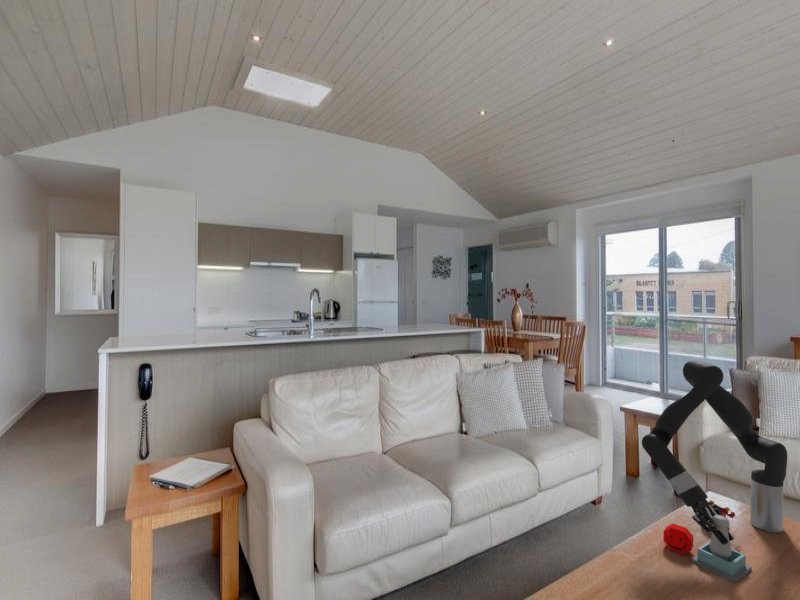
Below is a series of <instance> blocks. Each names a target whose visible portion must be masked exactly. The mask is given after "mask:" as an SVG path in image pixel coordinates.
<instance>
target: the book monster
mask: <svg viewBox="0 0 800 600" xmlns="http://www.w3.org/2000/svg"><path fill="white" fill-rule="evenodd" d="M708 502H709V503H710V504H711V505H715V504H716V503H715V501H714V500H712V499H710V500H709V501H708ZM716 505H717V504H716ZM717 506H718V507H719V509H720V511H721V513H722V515H723V516H724V517H726V518H727V517H729V518H731V519H734V518H735V516H736V514H735V512H734V511H731V508H730V507H729V506H726V507H721V506H719V505H717ZM729 512H730V513H729ZM708 521H709V520H708ZM711 525H712V524H711ZM705 526H706V525H705ZM712 526H713V525H712ZM706 527H707V526H706ZM707 528H708V527H707ZM730 528H731V526H730V525H729V527H727V529H730Z"/></svg>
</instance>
